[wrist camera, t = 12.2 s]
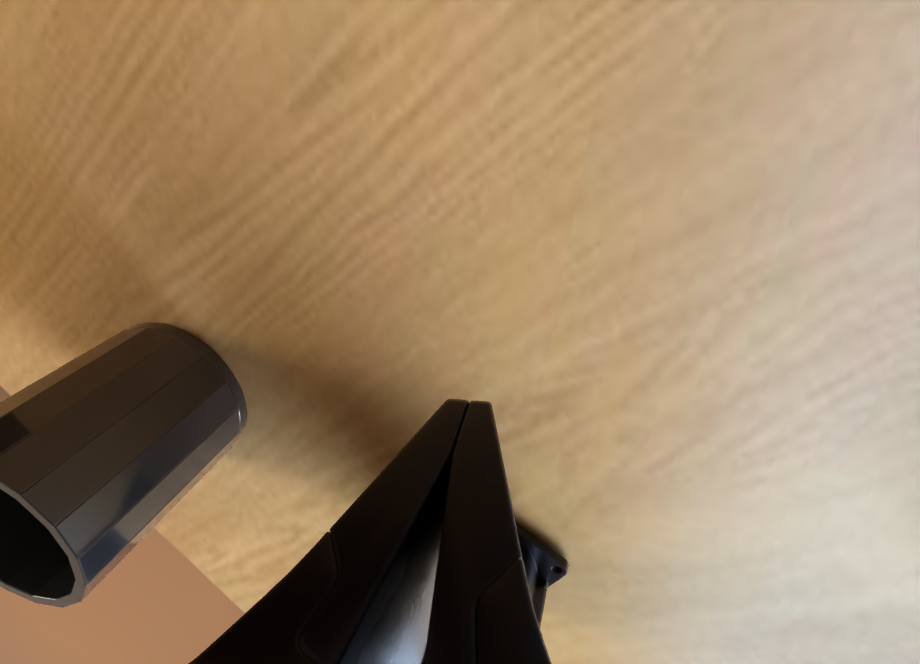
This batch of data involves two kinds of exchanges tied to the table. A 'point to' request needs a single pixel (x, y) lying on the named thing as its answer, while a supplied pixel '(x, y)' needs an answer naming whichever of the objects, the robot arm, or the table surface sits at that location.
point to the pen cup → (107, 455)
